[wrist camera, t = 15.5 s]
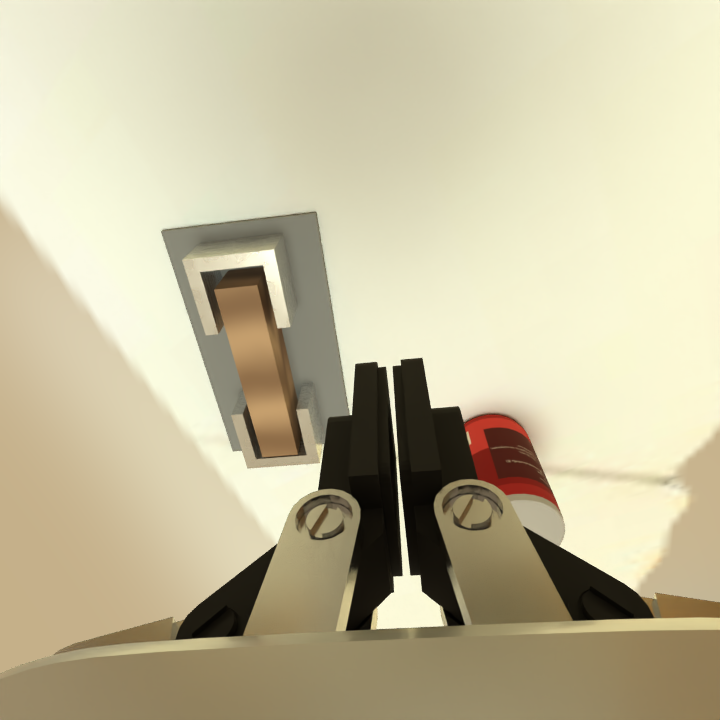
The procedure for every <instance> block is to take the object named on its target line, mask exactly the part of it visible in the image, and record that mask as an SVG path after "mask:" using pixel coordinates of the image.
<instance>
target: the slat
mask: <svg viewBox="0 0 720 720" xmlns="http://www.w3.org/2000/svg"><path fill="white" fill-rule="evenodd" d="M214 292H215V295H216V298H217V302H218V305H219V309H220V312H221V316H222V319H223V323H224V326H225V329H226V333H227V336H228V340H229V343H230V347H231V350H232V354H233V357H234V361H235V364H236V367H237V371H238V374H239V378H240V381H241V385H242V388H243V392H244V395H245V398H246V402H247V405H248V409H249V412H250V416H251V419H252V423H253V426H254V430H255V433H256V436H257V440H258V443H259V447H260V450H261V454H262V457H272V456H285V455H298V451H299V446H300V441H301V436H302V433H301V428H300V424H299V420H298V415H297V411H296V409H297V404H298V399H297V395H296V391H295V386H294V382H293V377H292V373H291V368H290V364H289V359H288V355H287V351H286V346H285V342H284V337H283V333H282V328H277V324H276V319H275V315H274V311H273V306H272V302H271V298H270V293H269V289H268V285H267V280H266V276H265V272H264V267H256V268H247V269H238V270H229V271H228V272H227V273H226V274H225V276H224V277H223V278H222V280H221V281H220V282H219V284H218V285H217V286H216V288H215V289H214Z"/></svg>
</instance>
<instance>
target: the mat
mask: <svg viewBox="0 0 720 720" xmlns="http://www.w3.org/2000/svg"><path fill="white" fill-rule="evenodd" d="M161 233H162V236H163V239H164V242H165V245H166V248H167V251H168V254H169V257H170V260H171V263H172V266H173V269H174V272H175V276H176V279H177V282H178V285H179V288H180V291H181V294H182V297H183V300H184V303H185V306H186V309H187V312H188V315H189V318H190V321H191V324H192V327H193V331H194V334H195V337H196V340H197V343H198V346H199V349H200V352H201V355H202V358H203V361H204V364H205V367H206V370H207V373H208V376H209V379H210V382H211V385H212V389H213V392H214V395H215V398H216V401H217V404H218V407H219V410H220V413H221V416H222V419H223V422H224V425H225V428H226V431H227V434H228V437H229V440H230V444H231V447H232V450H233V451H242V449H241V446H240V442H239V439H238V436H237V433H236V430H235V427H234V423H233V420H232V417H231V414H232V411H233V409H234V407H235V404H236V402H237V400H238V397H239V395H240V392H241V390H242V389H243V388H242V385H241V381H240V378H239V374H238V371H237V367H236V364H235V361H234V357H233V354H232V350H231V347H230V343H229V340H228V336H227V333H226V329H225V326H223V328H222V329H221V331H220V333H219V334H216V335H206V334H205V331H204V328H203V325H202V322H201V319H200V315H199V312H198V309H197V306H196V303H195V300H194V296H193V293H192V290H191V287H190V284H189V280H188V277H187V274H186V271H185V268H184V265H183V261H182V260H183V259H184V258H185V257H186V256H187V255H188V254H189V253H190V252H191V251H192V250H193V249H194V248H195V247H196V246H197V245H198V244H199V243H204V242H213V241H222V240H230V239H239V238H248V237H256V236H265V235H274V234H283V235H284V240H285V245H286V249H287V254H288V259H289V264H290V269H291V274H292V279H293V284H294V289H295V294H296V299H297V304H298V306H297V309H296V312H295V315H294V318H293V321H292V324H291V327H287V328H282V333H283V337H284V342H285V346H286V351H287V355H288V359H289V364H290V368H291V373H292V377H293V382H294V386H295V391H296V395H297V399H298V400H299V396H300V391H301V387H302V383H313V384H314V389H315V394H316V399H317V404H318V409H319V414H320V419H321V424H322V428H323V433H324V436H323V443H322V444H324V443H325V435H326V428H327V421H328V418H329V417H336V416H348V415H349V410H348V404H347V398H346V392H345V386H344V380H343V374H342V367H341V361H340V355H339V349H338V343H337V337H336V331H335V325H334V319H333V312H332V306H331V300H330V294H329V288H328V282H327V276H326V270H325V263H324V257H323V251H322V245H321V239H320V233H319V227H318V221H317V214H316V212H313V213H305V214H296V215H288V216H279V217H271V218H262V219H254V220H245V221H237V222H228V223H220V224H211V225H203V226H194V227H186V228H177V229H169V230H163V231H161ZM256 267H263V265H259V266H250V267H241V268H232V269H223V270H220V272H221V275H222V278H223V277H224V276H225V274H226V273H227V272H228V271H229V270H238V269H247V268H256Z"/></svg>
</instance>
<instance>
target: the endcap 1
mask: <svg viewBox="0 0 720 720" xmlns="http://www.w3.org/2000/svg"><path fill="white" fill-rule="evenodd" d="M182 261H183V265H184V268H185V271H186V274H187V277H188V280H189V284H190V287H191V290H192V293H193V296H194V300H195V303H196V306H197V309H198V312H199V315H200V319H201V322H202V325H203V328H204V331H205V334H206V335H216V334H219V333H220V331H221V329H222V328H223V326H224V323H223V319H222V316H221V312H220V309H219V305H218V302H217V298H216V295H215V292H214V289H215V288H216V286H217V285H218V284H219V282H220V281H221V280H222V275H221V272H220V270H223V269H232V268H241V267H250V266H259V265H263V267H264V272H265V276H266V280H267V285H268V289H269V293H270V298H271V302H272V306H273V311H274V315H275V319H276V324H277V328H287V327H291V324H292V321H293V318H294V315H295V312H296V309H297V306H298V304H297V299H296V294H295V289H294V284H293V279H292V274H291V269H290V264H289V259H288V254H287V249H286V245H285V240H284V235H283V234H274V235H265V236H256V237H248V238H239V239H230V240H222V241H213V242H204V243H199V244H198V245H197V246H196V247H195V248H194V249H193V250H192V251H191V252H190V253H189V254H188V255H187V256H186V257H185V258H184V259H183V260H182Z"/></svg>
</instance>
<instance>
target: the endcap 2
mask: <svg viewBox="0 0 720 720" xmlns="http://www.w3.org/2000/svg"><path fill="white" fill-rule="evenodd" d="M296 411H297V415H298V420H299V424H300V428H301V433H302V436H301V441H300V446H299V451H298V455H285V456H272V457H262V454H261V450H260V447H259V443H258V440H257V436H256V433H255V430H254V426H253V423H252V419H251V416H250V412H249V409H248V405H247V402H246V398H245V395H244V392H243V389H242V390H241V392H240V395H239V397H238V400H237V402H236V404H235V407H234V409H233V411H232V414H231V417H232V420H233V423H234V427H235V430H236V433H237V436H238V439H239V442H240V446H241V449H242V452H243V455H244V458H245V461H246V465H247V468H260V467H273V466H287V465H300V464H313V463H320V457H321V450H322V443H323V436H324V433H323V428H322V424H321V419H320V414H319V409H318V404H317V399H316V394H315V389H314V384H313V383H302V387H301V391H300V396H299V400H298V404H297V409H296Z"/></svg>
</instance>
